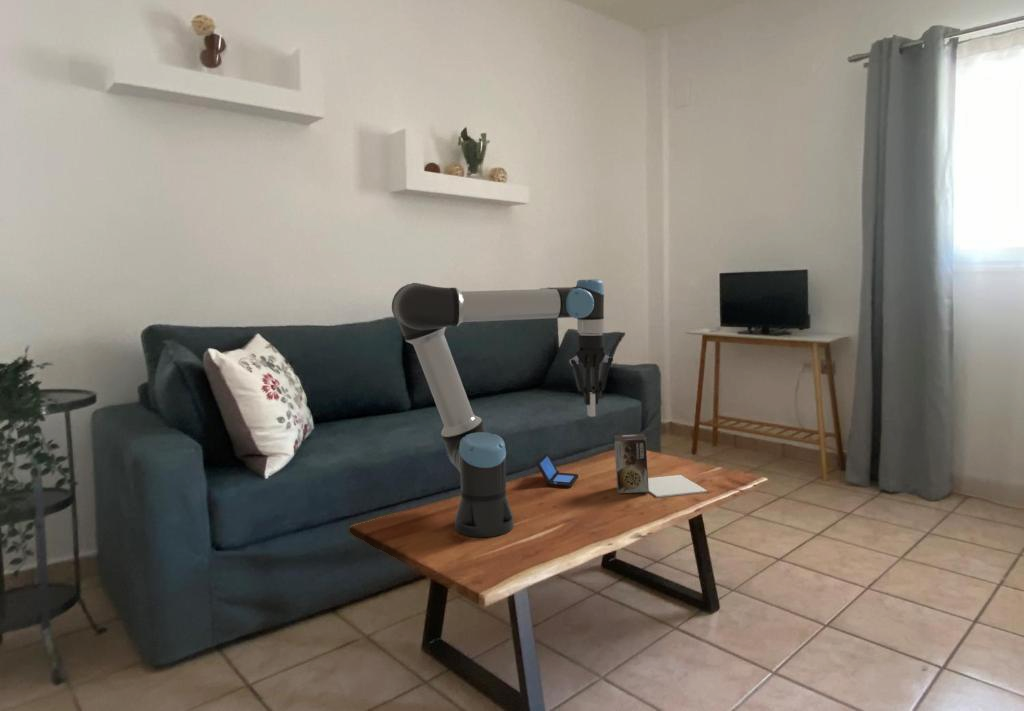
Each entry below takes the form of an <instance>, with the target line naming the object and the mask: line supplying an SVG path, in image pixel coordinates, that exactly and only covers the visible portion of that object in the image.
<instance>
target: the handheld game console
mask: <svg viewBox="0 0 1024 711" xmlns="http://www.w3.org/2000/svg"><path fill="white" fill-rule="evenodd" d="M536 466H537V468H538V470H539V471H540V474H541V475H542V477H543V478H544V479H545V482H546V487H548V488H549V487H550V488H558V489H559V488H563V489H570V488H571V487H572V486H573V485H574V484H575V482H576V481H577V480H578V478H579V474H577V473H568V472H560V471H559V470H558V469H557V467H556V466H555V464H554V462H553V460H552V459H551V457H550V455H549V454H548V453H545V454H544V455H542V457H541V458H540V459H539V460H538V461H537V462H536Z"/></svg>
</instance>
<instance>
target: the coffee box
mask: <svg viewBox="0 0 1024 711" xmlns="http://www.w3.org/2000/svg"><path fill="white" fill-rule="evenodd" d="M613 442H614V457H615V458H614V459H615V470H616V471H615V475H616V488H617V494H633V493H635V494H636V493H650V492H649V485H648V478H649V472H648V471H649V470H648V456H647V440H646V436H645V434H644V433H634V434H633V433H632V434H630V433H629V434H615V435H613Z"/></svg>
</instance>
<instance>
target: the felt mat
mask: <svg viewBox="0 0 1024 711" xmlns="http://www.w3.org/2000/svg"><path fill="white" fill-rule="evenodd" d="M648 485H649V492H648V493H649V494H651V495H653V497H655V498H657V499H658V498H666V497H675V496H684V495H686V496H687V495H694V494H703V493H704V494H705V493H707V492H708V490H707V489H705V488H704V487H702V486H700V485H698V484H697V483H695V482H693V481H692V480H689V479H688V478H686V477H685V476H683V475H681V474H677V475H676V474H674V475H668V476H667V475H666V476H657V477H656V476H655V477H648Z"/></svg>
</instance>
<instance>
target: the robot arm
mask: <svg viewBox="0 0 1024 711" xmlns="http://www.w3.org/2000/svg"><path fill="white" fill-rule="evenodd" d="M393 295H394V296H393V298H392V300H391V301H392V302H391V312H392V315H393V317H394V318H395V320H396V321H397V322H398V325H399V327H400V331H401V333H402V335H403V338H404V340H405V342H406V343H409V344H411V345H412V346H413V347H414V350H415V353H416V355H417V358H418V361H419V364H420V367H421V368H422V371H423V374H424V376H425V380H426V382H427V384H428V387H429V389H430V393H431V396H432V398H433V399H434V403H435V407H436V408H437V410H438V413H439V415H440V419H441V421H442V424H443V428H442V430H441V432H440V434H441V437H442V440H443V443H444V445H445V451H446V456H447V458H448V460H449V462H450V463H451V464H452V465H453V466H454V467H455V468H456V469H457V470H458V472H459V474H460V501H459V504H458V506H457V510H456V514H455V518H454V528H455V531H456V532H458V533H459V534H462V535H464V536H467V537H472V538H473V537H475V538H491V537H497V536H500V535H504V534H506V533H508V532H510V531H512V530H513V528H514V526H515V524H514V521H515V519H514V514H513V512H512V509H511V506H510V504H509V501H508V498H507V465H506V463H507V462H506V461H507V460H506V457H507V449H506V443H505V441H504V439H503V438H502V437H501V436H500V435H498V434H495V433H493V434H492V433H491V432H487V431H486V428H485V426H484V423H483V420H482V418H481V417H480V416H477V415H475V414H474V411H473V409H472V406H471V404H470V400H469V398H468V396H467V393H466V390H465V388H464V385H463V382H462V379H461V376H460V374H459V371H458V368H457V366H456V363H455V361H454V358H453V355H452V352H451V349H450V347H449V344H448V341H447V339H446V336H445V331H446V330H447V328H451V327H455V328H456V327H458V326H459V325H460V324H462V323H469V322H491V321H492V322H494V321H495V322H496V321H515V320H517V321H519V320H539V319H542V320H543V319H563V318H564V319H566V318H567V319H569V318H573V319H576V320H577V322H576V323H577V328H576V330H577V333H578V334H577V342H576V343H577V351H576V353H575V356H573V357H572V358H569V359H568V363H569V365H570V366H571V368H572V372H573V376H574V380H575V383H576V388H577V390H578V391H579V392H580V393H583V403H584V405H586V407H587V408H586V411H587V413H586V414H587V416H589V417H590V418H591V417H596V416H597V414H596V405H598V404H599V394H600V393H601V392H604V391H605V389H606V385H607V380H608V377H609V371H610V367H611V365H612V363H613V362H614V358H613V357H611V356H609V355H607V353H606V351H605V336H604V334H603V333H604V332H605V318H604V317H605V315H604V313H605V312H604V308H605V298H604V297H605V289H604V282H603V281H602V279H599V278H598V279H578V280H577V281H576V286H571V287H569V286H568V287H567V286H566V287H565V286H564V287H563V286H562V287H558V286H557V287H548V286H547V287H541V288H538V289H505V290H503V289H502V290H473V291H471V290H469V291H468V290H467V291H464V290H463V291H460V289H458V288H457V287H441V286H434V285H429V284H425V283H418V282H412V283H408V284H405V285H403V286H401V288H399V289H398V290H397V291H396V292H395V294H393ZM602 362H603V363H602ZM579 363H580V364H581V365H582V371H583V373H582V375H583V379H582V375H581V371H580V367H579ZM601 363H602V366H601V370H600V364H601ZM599 372H600V373H599ZM599 374H600V375H599Z"/></svg>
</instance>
